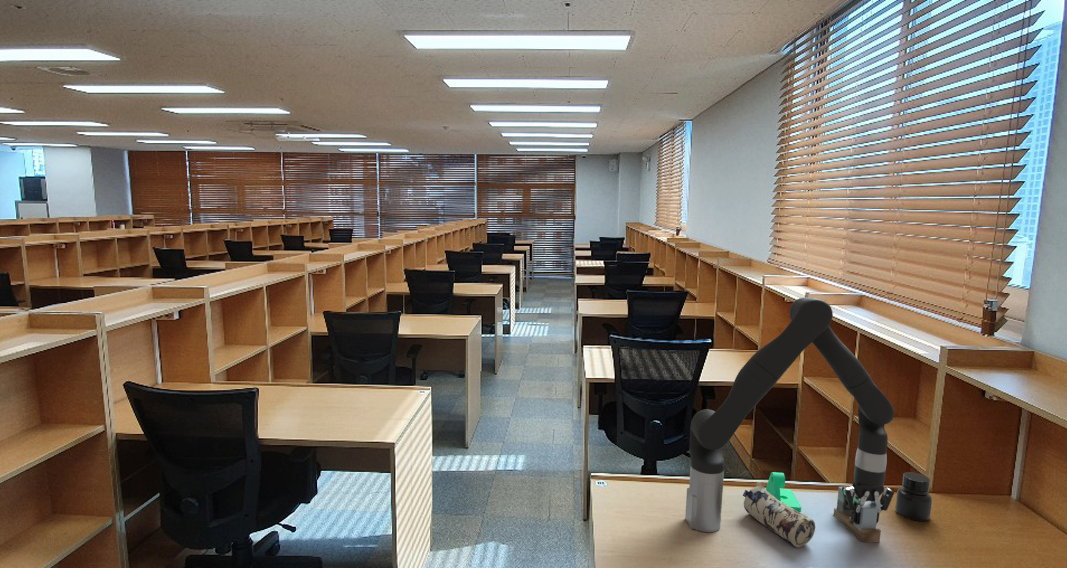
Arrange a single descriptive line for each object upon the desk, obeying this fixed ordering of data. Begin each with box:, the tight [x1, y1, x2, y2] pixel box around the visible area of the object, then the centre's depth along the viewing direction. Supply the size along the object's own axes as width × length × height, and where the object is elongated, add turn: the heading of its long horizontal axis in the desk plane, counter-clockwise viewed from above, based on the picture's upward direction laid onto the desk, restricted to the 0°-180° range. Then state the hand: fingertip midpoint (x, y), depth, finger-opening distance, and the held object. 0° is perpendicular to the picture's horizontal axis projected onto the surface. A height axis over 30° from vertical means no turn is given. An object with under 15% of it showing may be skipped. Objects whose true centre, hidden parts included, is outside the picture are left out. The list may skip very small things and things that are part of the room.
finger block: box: [853, 501, 878, 531], centre depth 169 cm, size 4×4×7 cm
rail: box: [833, 486, 882, 543], centre depth 173 cm, size 5×15×9 cm, turn 1°
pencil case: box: [742, 481, 816, 549], centre depth 170 cm, size 22×8×10 cm, turn 20°
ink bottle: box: [895, 471, 933, 522], centre depth 181 cm, size 10×9×12 cm
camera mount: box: [765, 471, 802, 513], centre depth 185 cm, size 12×8×10 cm, turn 172°
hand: (864, 522), depth 169 cm, fingers open, 4 cm apart
